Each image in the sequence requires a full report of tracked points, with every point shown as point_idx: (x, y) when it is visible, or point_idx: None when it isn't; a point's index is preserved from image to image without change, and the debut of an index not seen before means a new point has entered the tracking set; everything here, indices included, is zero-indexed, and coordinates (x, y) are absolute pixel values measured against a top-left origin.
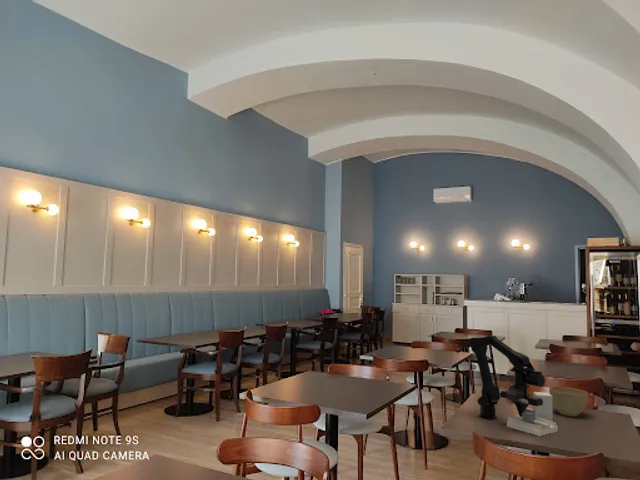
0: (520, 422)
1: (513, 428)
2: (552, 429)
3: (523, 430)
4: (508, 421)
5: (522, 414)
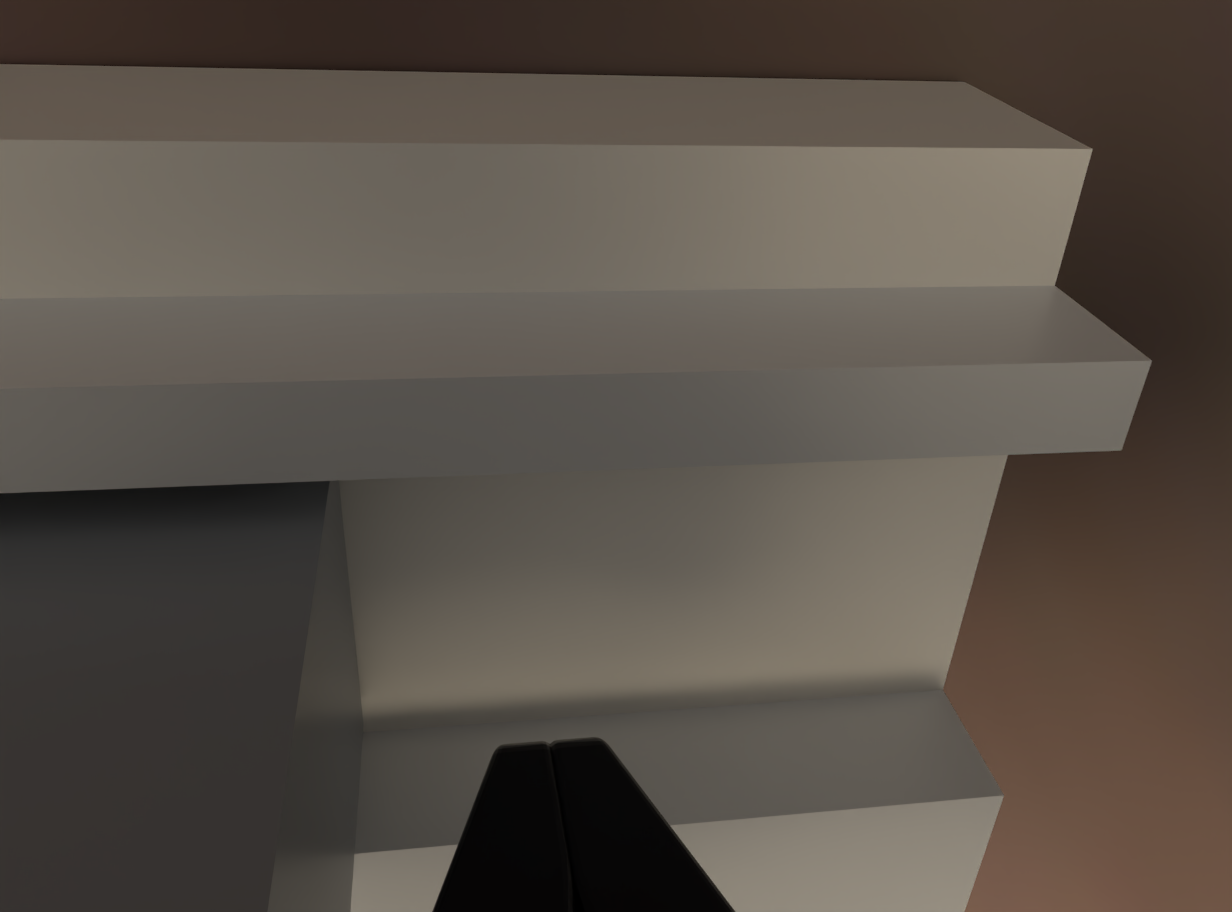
0: (322, 339)
1: (633, 79)
2: None
3: (59, 77)
4: (996, 146)
5: (235, 841)
